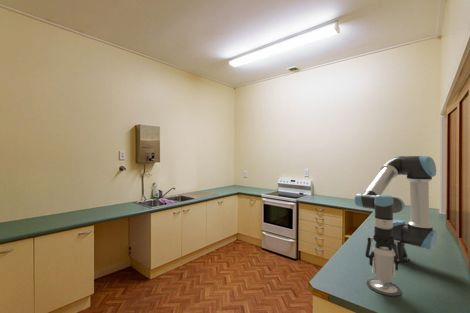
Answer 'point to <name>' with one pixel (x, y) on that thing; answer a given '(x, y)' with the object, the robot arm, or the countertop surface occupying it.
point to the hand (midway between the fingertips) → (383, 274)
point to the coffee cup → (383, 263)
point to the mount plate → (383, 287)
